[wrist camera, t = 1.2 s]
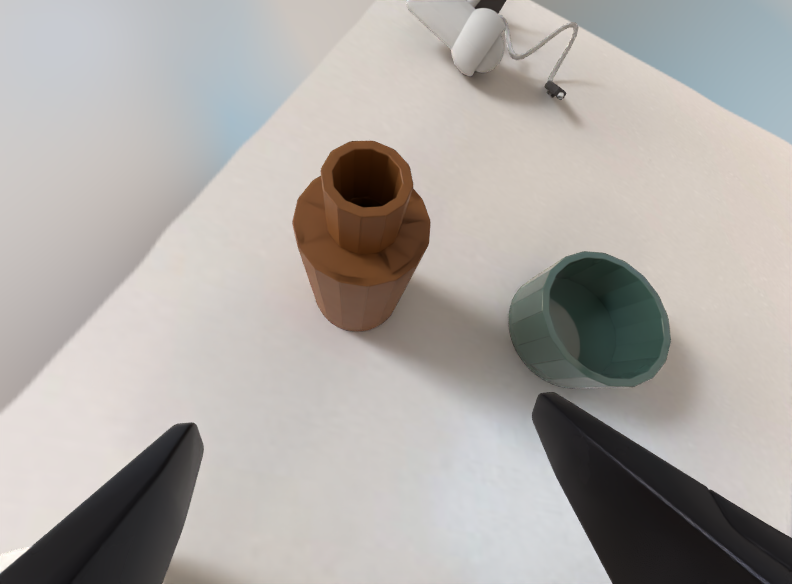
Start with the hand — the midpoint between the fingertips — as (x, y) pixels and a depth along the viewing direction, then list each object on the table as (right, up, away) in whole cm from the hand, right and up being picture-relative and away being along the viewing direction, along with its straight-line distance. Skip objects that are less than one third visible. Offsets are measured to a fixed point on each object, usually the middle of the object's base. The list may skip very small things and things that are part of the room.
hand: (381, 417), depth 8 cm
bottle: (-2, +3, +15) cm, 15 cm away
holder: (+14, 0, +16) cm, 21 cm away
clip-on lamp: (+10, +28, +25) cm, 39 cm away
